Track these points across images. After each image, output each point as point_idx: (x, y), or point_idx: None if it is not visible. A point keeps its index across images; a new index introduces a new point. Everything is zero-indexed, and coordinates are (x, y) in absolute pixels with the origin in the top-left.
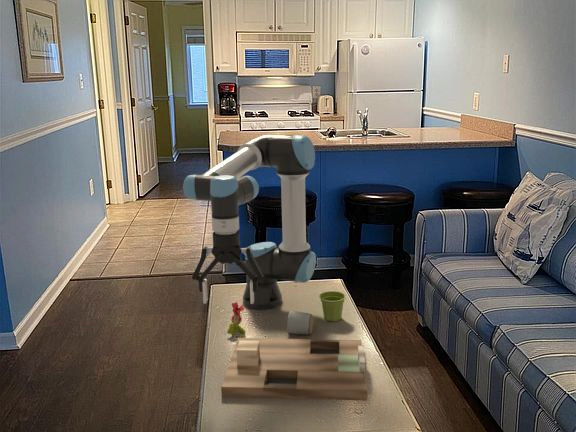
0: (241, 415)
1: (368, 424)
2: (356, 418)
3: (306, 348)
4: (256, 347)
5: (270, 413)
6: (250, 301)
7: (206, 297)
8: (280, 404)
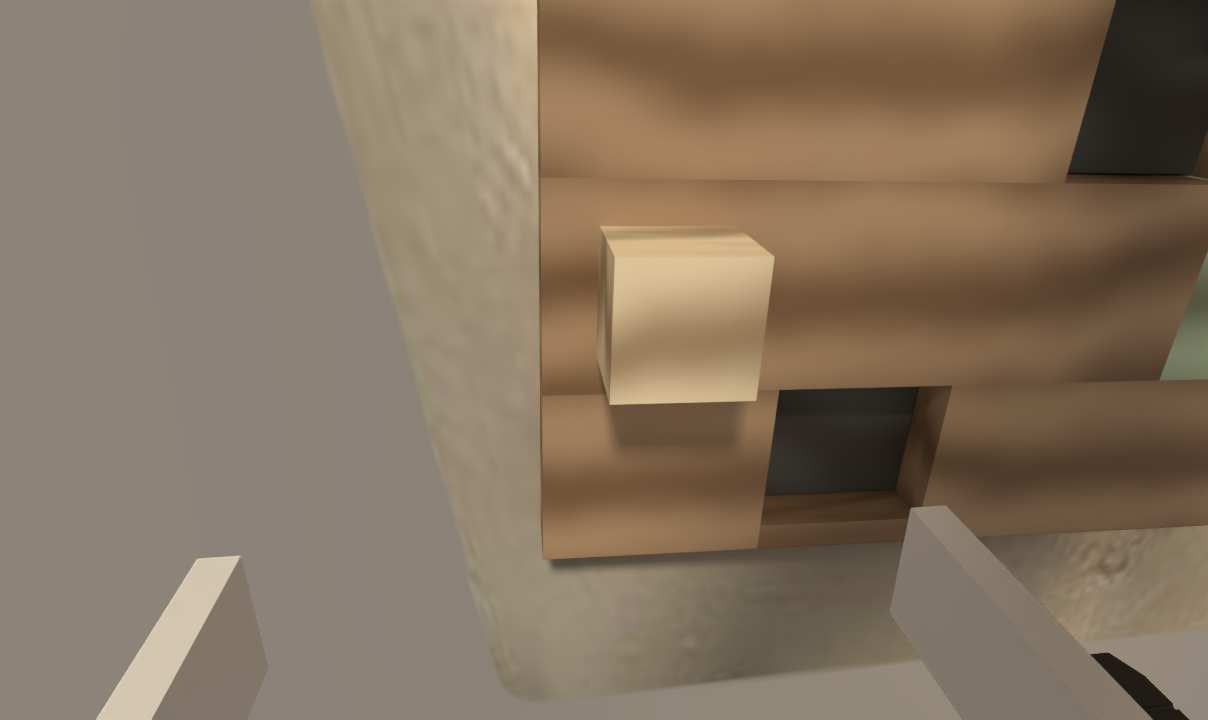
0: (651, 630)
1: (1117, 625)
2: (1089, 600)
3: (1061, 105)
4: (753, 361)
5: (770, 607)
6: (906, 637)
7: (230, 686)
8: (814, 551)
